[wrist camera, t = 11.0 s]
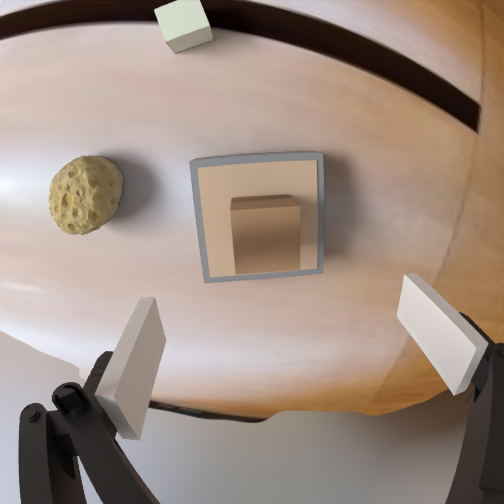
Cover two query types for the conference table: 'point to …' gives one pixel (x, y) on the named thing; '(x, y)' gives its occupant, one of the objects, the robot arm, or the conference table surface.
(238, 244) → the walnut cube
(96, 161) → the decorative item
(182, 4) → the sage cube
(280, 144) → the conference table surface
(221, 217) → the plinth
